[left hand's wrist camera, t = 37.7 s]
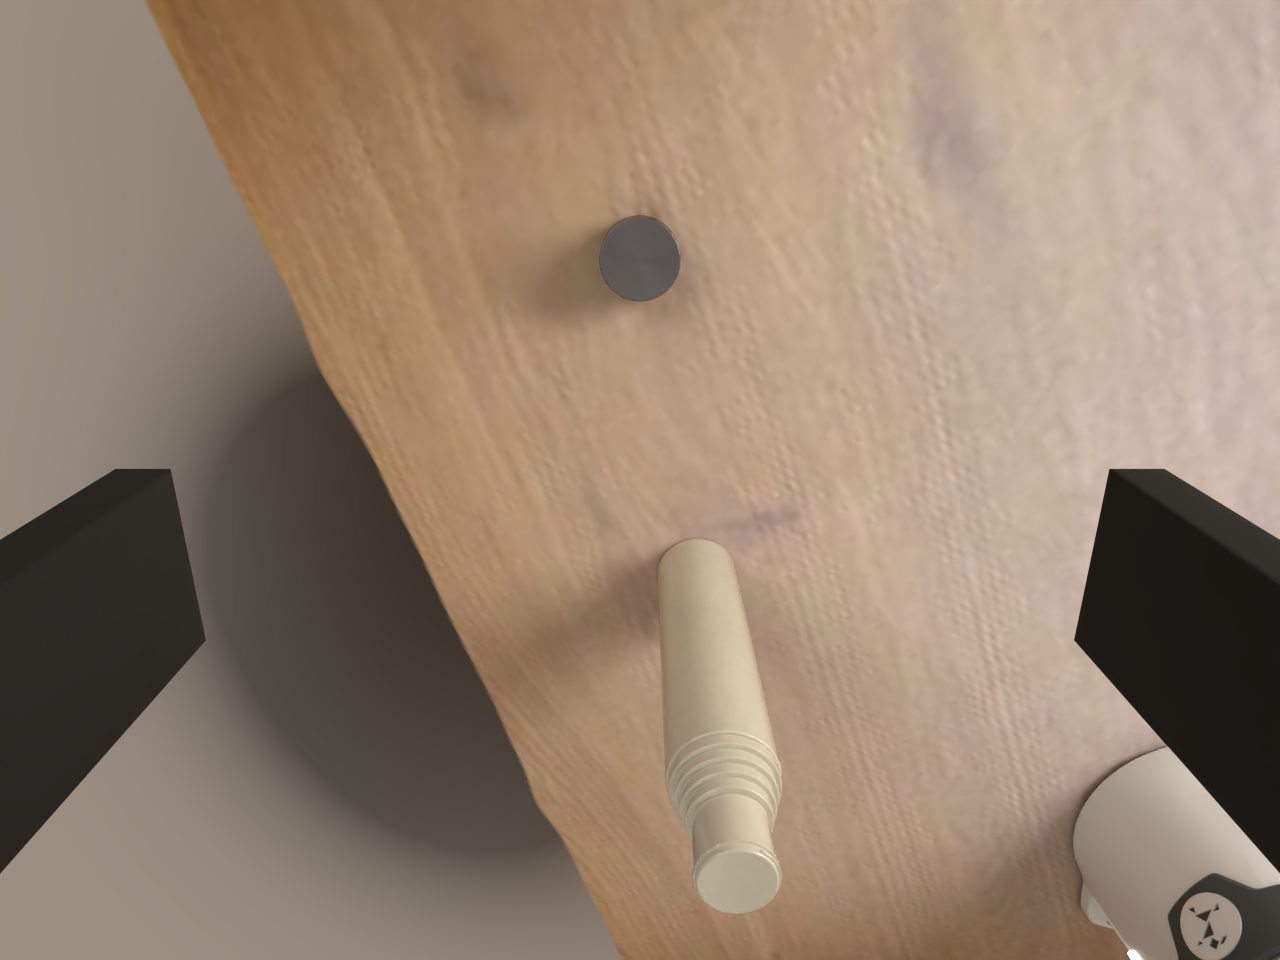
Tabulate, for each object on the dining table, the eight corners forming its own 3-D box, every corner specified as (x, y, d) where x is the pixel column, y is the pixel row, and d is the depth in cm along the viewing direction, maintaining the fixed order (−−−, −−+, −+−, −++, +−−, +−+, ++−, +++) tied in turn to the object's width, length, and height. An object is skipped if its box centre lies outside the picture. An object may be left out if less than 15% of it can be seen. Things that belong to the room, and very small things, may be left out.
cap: (694, 245, 47) (696, 249, 45) (649, 310, 48) (650, 317, 46) (629, 199, 46) (629, 201, 44) (585, 266, 47) (583, 271, 45)
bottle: (700, 622, 55) (742, 954, 33) (641, 579, 54) (641, 890, 31) (752, 569, 54) (833, 876, 31) (692, 523, 53) (732, 807, 30)
